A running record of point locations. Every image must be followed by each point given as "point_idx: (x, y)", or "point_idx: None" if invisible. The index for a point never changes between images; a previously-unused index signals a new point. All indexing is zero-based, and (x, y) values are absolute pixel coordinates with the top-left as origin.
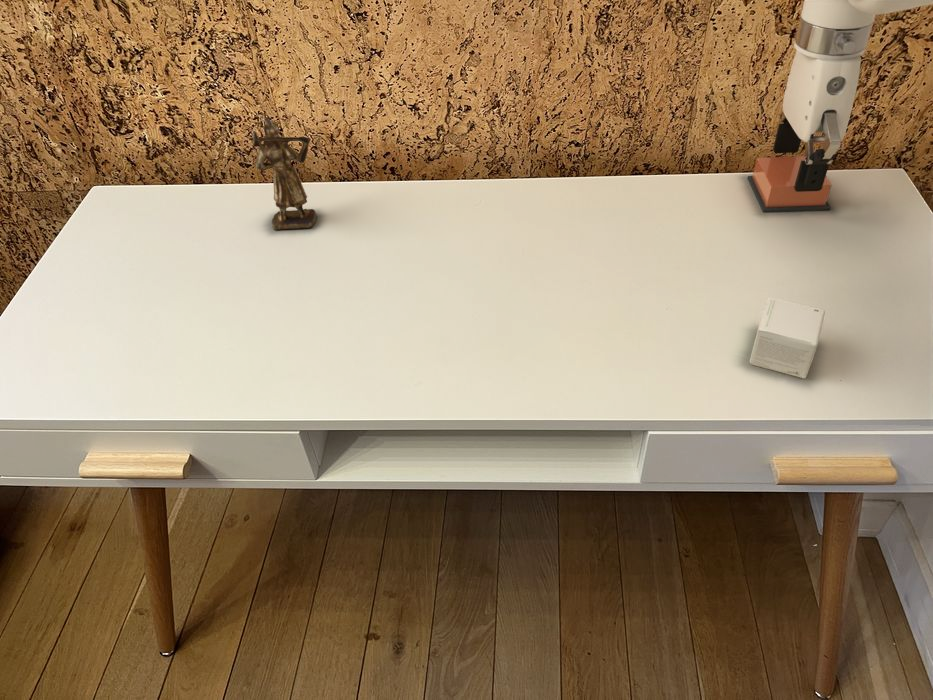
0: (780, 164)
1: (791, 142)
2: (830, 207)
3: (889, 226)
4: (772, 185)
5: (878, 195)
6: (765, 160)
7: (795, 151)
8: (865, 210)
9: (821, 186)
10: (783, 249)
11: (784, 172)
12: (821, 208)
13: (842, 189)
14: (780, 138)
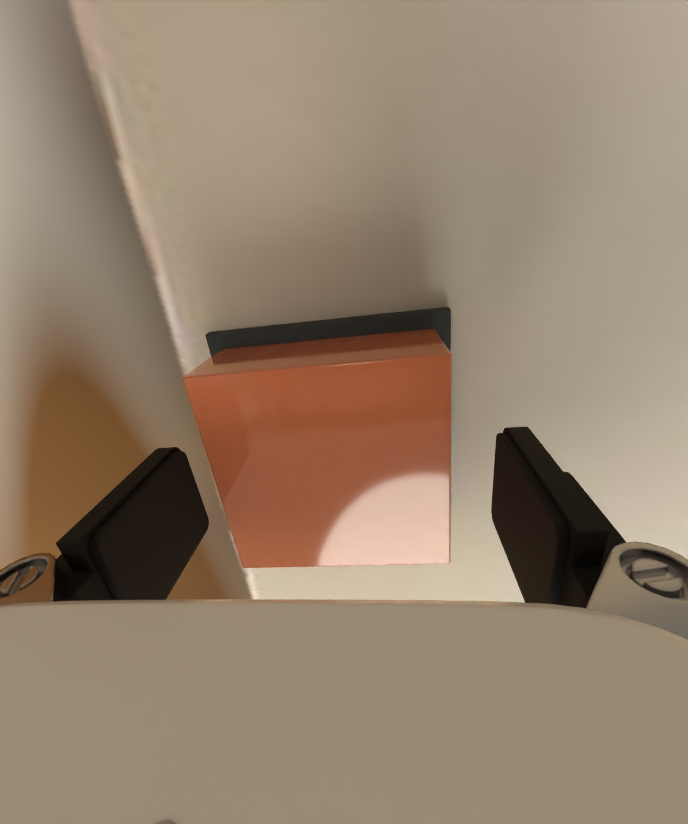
0: (282, 511)
1: (169, 511)
2: (448, 310)
3: (605, 49)
4: (440, 560)
5: (324, 41)
6: (257, 548)
7: (185, 460)
8: (455, 149)
9: (530, 436)
10: (655, 490)
11: (341, 508)
12: (449, 343)
13: (288, 221)
14: (174, 570)
